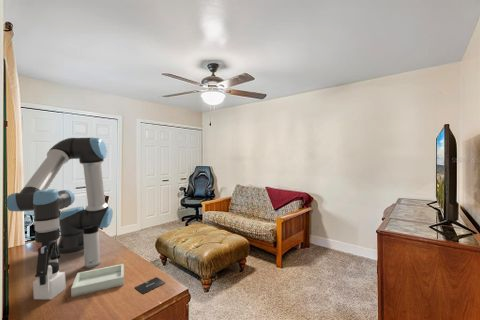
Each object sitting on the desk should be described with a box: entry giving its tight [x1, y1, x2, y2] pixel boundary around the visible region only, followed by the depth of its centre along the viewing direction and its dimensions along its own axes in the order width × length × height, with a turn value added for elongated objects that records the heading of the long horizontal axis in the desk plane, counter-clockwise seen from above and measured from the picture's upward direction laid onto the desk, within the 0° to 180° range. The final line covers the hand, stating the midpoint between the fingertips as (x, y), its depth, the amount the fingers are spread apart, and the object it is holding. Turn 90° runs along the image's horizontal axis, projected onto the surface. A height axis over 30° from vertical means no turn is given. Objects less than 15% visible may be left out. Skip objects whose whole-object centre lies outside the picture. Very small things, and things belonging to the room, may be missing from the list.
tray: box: [70, 263, 125, 298], centre depth 100 cm, size 13×18×4 cm
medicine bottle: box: [32, 261, 67, 300], centre depth 92 cm, size 7×7×12 cm
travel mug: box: [83, 225, 101, 269], centre depth 115 cm, size 6×7×20 cm
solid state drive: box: [134, 276, 166, 295], centre depth 97 cm, size 7×10×1 cm
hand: (49, 283), depth 92 cm, fingers open, 13 cm apart
